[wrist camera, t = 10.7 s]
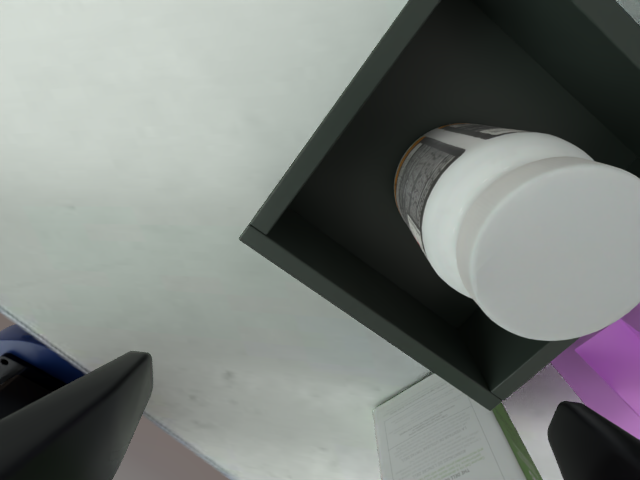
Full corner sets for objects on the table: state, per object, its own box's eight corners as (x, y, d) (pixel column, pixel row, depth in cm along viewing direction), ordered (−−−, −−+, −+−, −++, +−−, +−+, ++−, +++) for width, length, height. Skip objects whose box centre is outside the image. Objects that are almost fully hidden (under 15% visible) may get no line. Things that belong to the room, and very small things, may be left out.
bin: (453, 338, 22) (490, 412, 17) (264, 203, 20) (237, 239, 14) (652, 151, 18) (782, 172, 13) (443, -48, 16) (497, -124, 10)
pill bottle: (432, 257, 20) (519, 395, 10) (368, 171, 18) (402, 243, 9) (532, 191, 18) (735, 283, 9) (470, 93, 17) (635, 83, 8)
